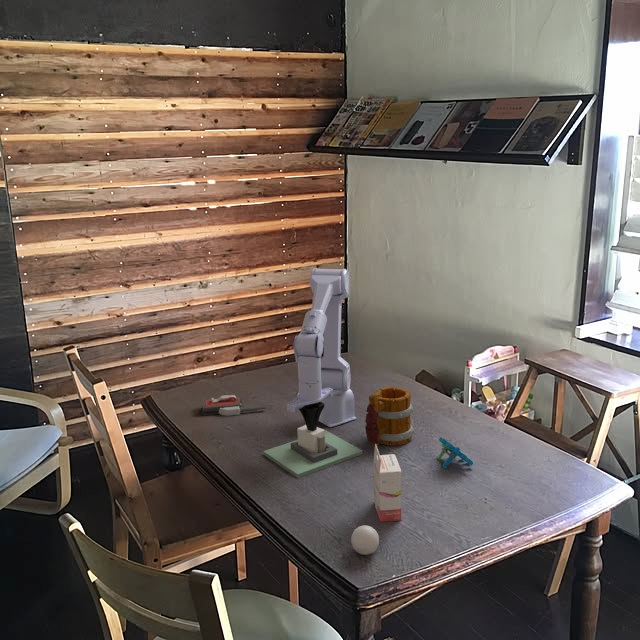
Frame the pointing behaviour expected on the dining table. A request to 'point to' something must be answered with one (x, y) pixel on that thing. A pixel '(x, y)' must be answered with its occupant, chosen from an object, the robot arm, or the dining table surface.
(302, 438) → the plug
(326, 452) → the board
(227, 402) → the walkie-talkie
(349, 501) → the dining table surface
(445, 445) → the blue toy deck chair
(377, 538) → the white egg
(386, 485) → the ink cartridge box
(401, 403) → the mug
